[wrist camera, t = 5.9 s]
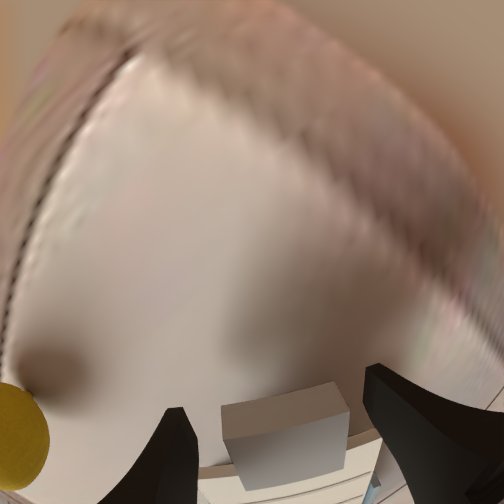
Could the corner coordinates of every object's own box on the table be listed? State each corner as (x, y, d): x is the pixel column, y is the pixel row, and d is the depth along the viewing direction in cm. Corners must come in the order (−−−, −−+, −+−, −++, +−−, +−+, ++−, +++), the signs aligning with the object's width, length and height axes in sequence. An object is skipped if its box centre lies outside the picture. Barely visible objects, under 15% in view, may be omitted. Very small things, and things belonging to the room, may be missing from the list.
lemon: (40, 359, 12) (-28, 461, 4) (79, 428, 13) (45, 526, 6) (-15, 355, 11) (-77, 429, 4) (22, 419, 13) (-17, 496, 5)
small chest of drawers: (356, 504, 13) (362, 519, 12) (238, 530, 13) (240, 547, 11) (387, 363, 9) (409, 388, 8) (160, 412, 9) (155, 445, 7)
